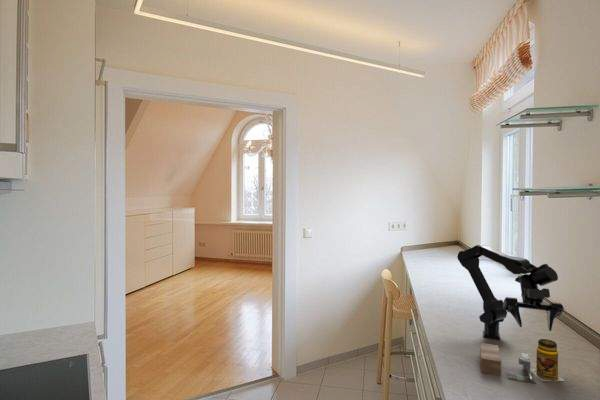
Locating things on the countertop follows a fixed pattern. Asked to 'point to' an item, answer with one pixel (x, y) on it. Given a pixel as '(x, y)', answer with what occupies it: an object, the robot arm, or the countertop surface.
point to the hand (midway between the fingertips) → (535, 328)
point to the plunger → (525, 363)
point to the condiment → (547, 361)
